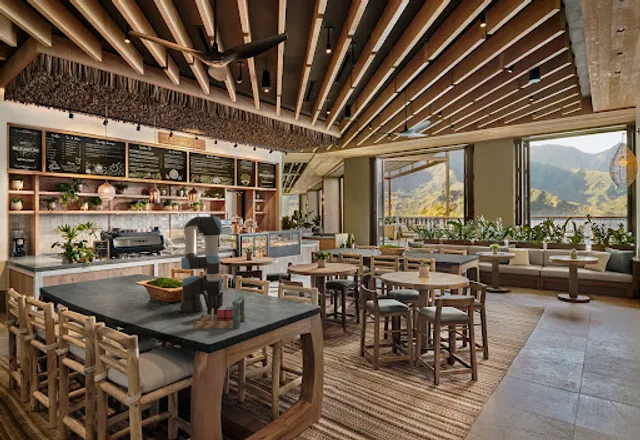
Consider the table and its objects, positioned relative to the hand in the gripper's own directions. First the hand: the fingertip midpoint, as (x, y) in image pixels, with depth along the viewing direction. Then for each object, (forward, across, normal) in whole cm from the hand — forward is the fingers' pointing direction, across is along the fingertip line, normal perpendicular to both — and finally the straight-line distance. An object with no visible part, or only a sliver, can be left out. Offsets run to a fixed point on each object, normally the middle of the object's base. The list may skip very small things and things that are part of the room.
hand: (213, 319), depth 229 cm
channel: (+3, +4, 0) cm, 5 cm away
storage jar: (+3, -4, +18) cm, 19 cm away
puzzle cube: (+3, +8, +1) cm, 9 cm away
